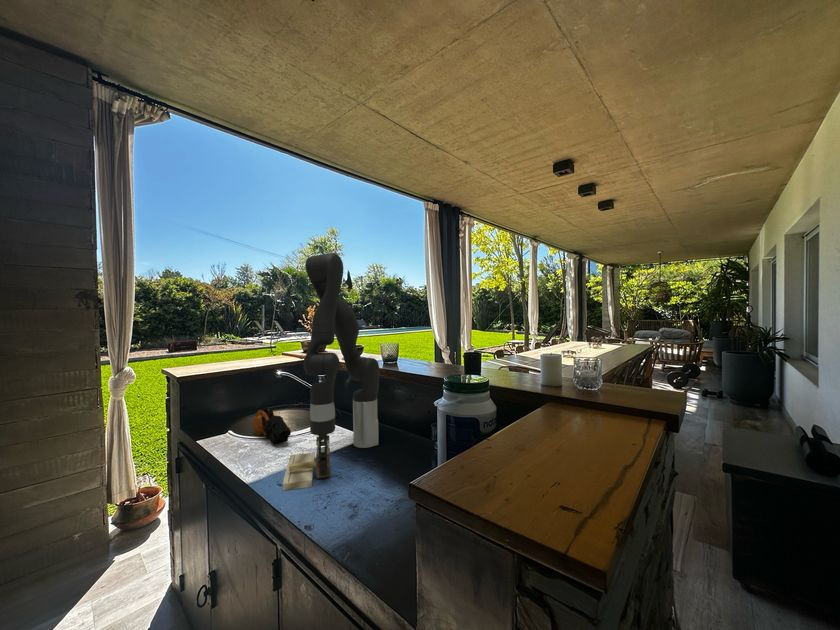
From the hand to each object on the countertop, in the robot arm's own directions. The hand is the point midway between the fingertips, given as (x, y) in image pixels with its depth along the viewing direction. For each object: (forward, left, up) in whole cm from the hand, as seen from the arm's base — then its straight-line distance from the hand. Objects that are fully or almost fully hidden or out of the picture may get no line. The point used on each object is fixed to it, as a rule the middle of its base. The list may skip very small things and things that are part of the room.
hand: (323, 470), depth 107 cm
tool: (+21, -36, -2) cm, 42 cm away
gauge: (+4, 0, -1) cm, 4 cm away
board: (+7, -4, -2) cm, 8 cm away
